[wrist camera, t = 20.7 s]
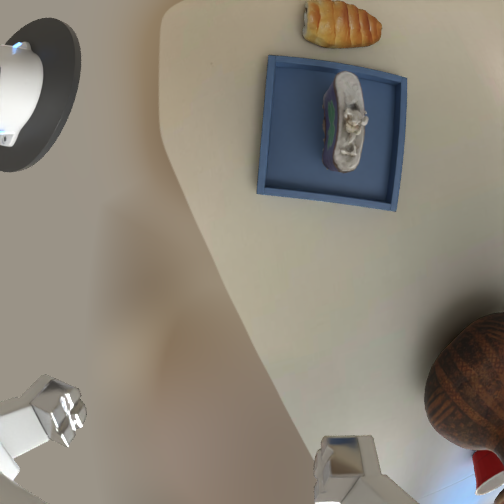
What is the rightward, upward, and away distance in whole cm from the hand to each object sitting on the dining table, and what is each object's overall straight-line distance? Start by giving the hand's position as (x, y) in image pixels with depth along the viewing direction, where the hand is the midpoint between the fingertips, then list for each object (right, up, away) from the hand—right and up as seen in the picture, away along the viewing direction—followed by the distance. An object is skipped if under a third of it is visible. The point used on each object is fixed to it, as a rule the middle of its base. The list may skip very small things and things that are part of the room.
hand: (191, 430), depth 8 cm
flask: (+11, +19, +23) cm, 32 cm away
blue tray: (+11, +19, +24) cm, 32 cm away
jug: (+37, -12, +30) cm, 49 cm away
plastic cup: (+59, -44, +37) cm, 82 cm away
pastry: (+12, +32, +20) cm, 40 cm away
